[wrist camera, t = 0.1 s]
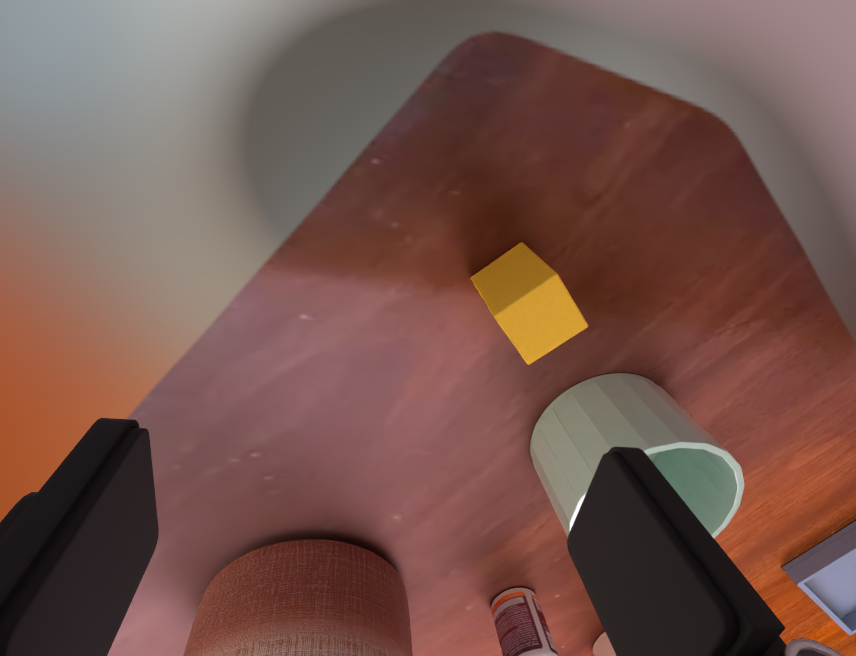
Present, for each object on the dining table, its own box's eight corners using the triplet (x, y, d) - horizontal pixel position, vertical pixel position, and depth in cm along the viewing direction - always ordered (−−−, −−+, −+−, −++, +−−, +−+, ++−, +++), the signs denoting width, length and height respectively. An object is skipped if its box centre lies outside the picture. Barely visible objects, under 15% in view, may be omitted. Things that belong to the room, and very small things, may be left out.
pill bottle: (482, 613, 46) (505, 712, 39) (503, 582, 45) (532, 680, 37) (523, 619, 48) (553, 715, 40) (545, 589, 46) (580, 684, 39)
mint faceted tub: (554, 366, 34) (605, 437, 27) (695, 379, 36) (776, 447, 29) (513, 488, 39) (547, 574, 32) (639, 492, 41) (697, 574, 34)
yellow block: (469, 277, 30) (493, 316, 25) (521, 240, 29) (557, 272, 24) (500, 320, 32) (528, 365, 27) (550, 287, 31) (589, 326, 26)
